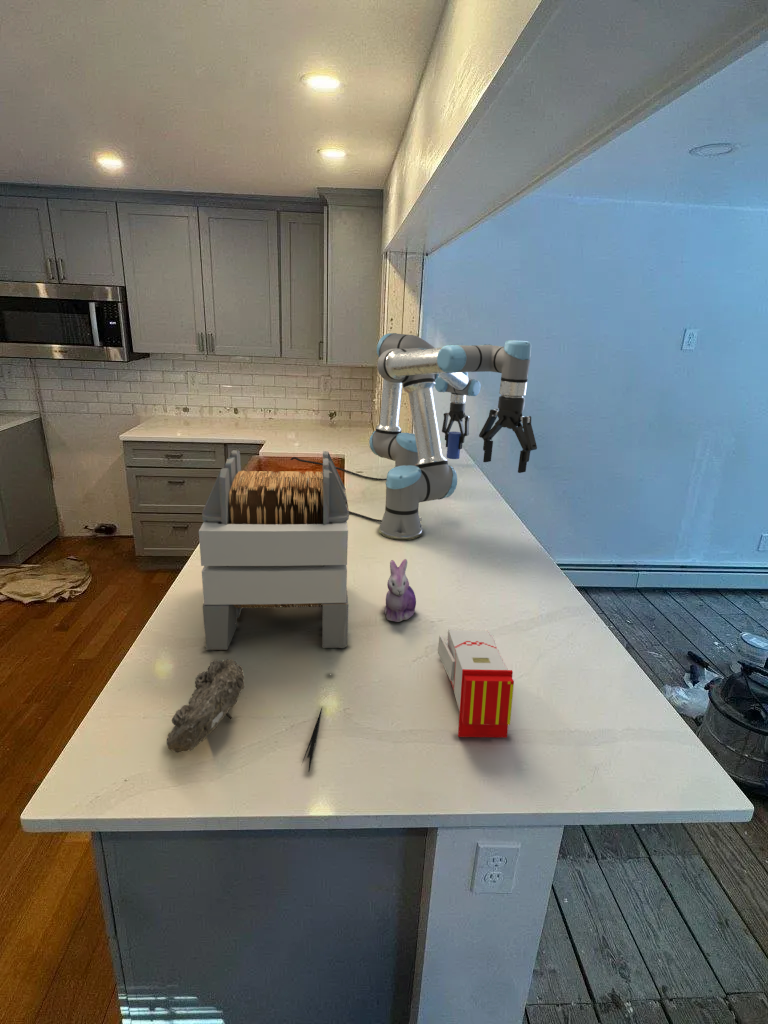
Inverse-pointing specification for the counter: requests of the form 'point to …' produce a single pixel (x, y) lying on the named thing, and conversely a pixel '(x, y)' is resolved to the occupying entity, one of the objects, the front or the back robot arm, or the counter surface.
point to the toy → (478, 682)
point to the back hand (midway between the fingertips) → (453, 447)
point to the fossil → (206, 705)
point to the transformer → (274, 548)
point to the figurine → (399, 594)
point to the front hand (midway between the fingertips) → (503, 466)
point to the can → (453, 445)
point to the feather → (313, 740)
